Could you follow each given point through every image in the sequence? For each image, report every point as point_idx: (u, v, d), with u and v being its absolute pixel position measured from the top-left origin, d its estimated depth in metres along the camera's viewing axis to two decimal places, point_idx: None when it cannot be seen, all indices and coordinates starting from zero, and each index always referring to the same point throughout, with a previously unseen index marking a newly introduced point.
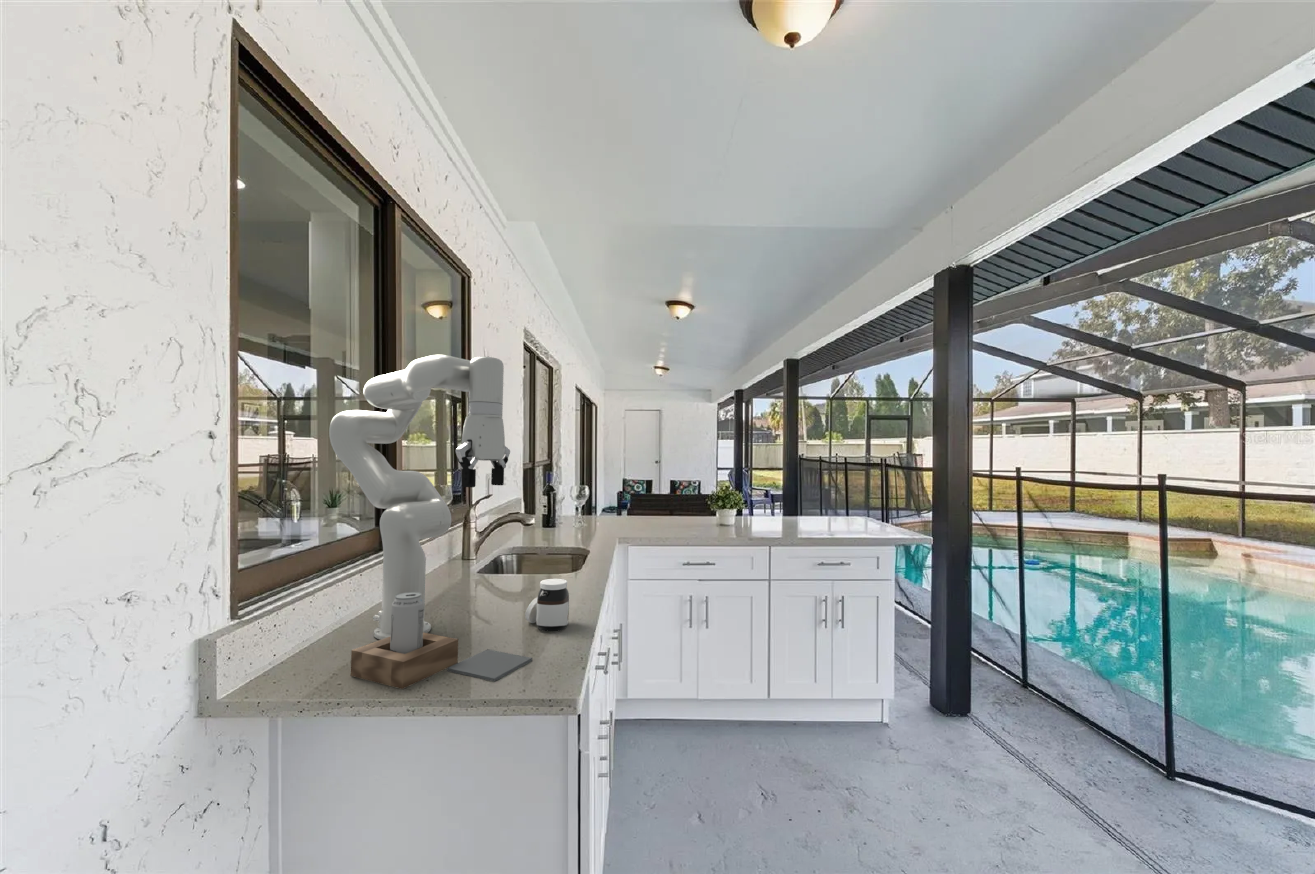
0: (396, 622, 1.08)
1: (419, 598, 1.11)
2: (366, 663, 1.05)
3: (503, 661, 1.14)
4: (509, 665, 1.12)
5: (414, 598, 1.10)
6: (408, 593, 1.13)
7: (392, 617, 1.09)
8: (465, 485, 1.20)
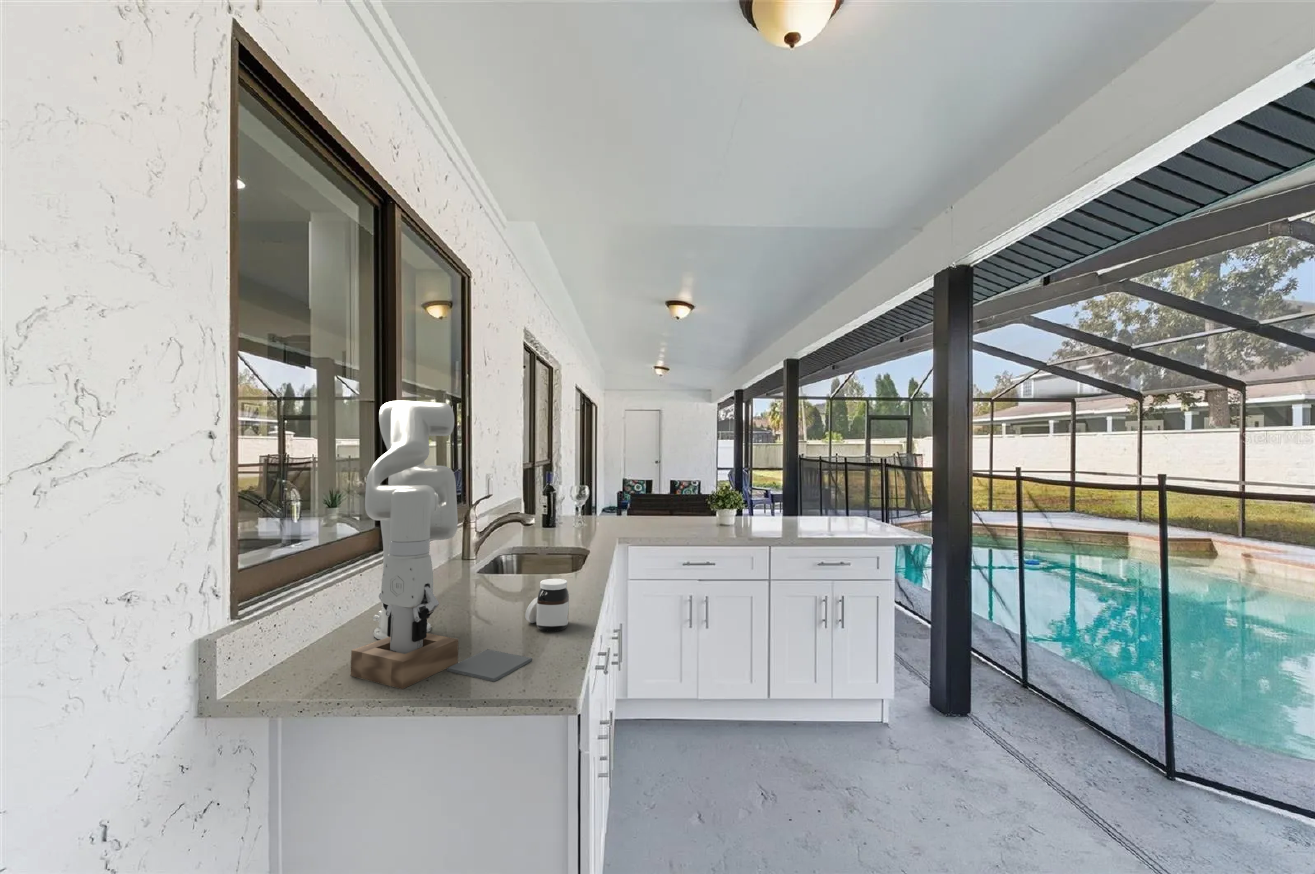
0: (396, 622, 1.08)
1: None
2: (366, 663, 1.05)
3: (503, 661, 1.14)
4: (509, 665, 1.12)
5: None
6: None
7: (392, 617, 1.09)
8: (417, 639, 1.09)
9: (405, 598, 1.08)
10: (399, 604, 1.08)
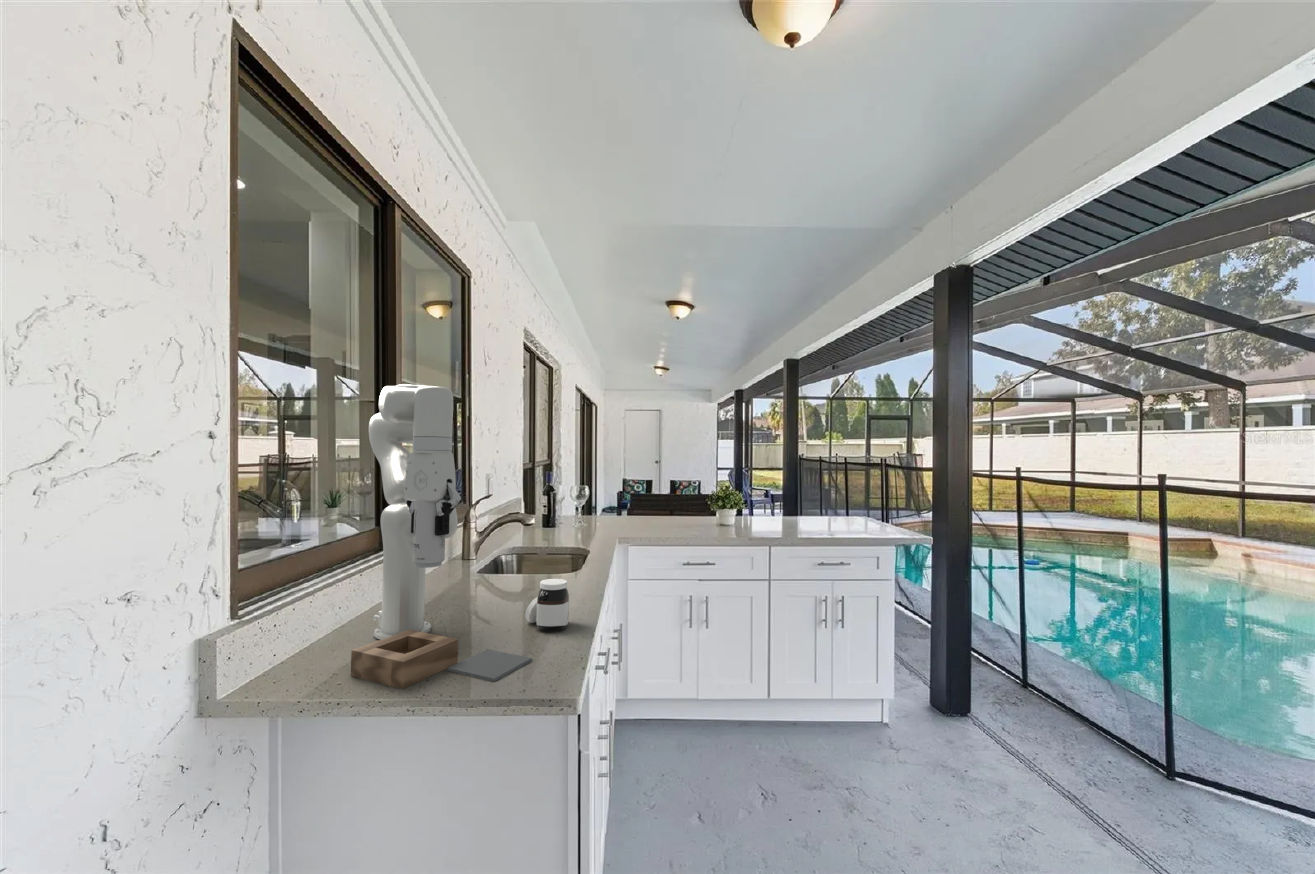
0: (419, 516, 1.09)
1: None
2: (366, 663, 1.05)
3: (503, 661, 1.14)
4: (509, 665, 1.12)
5: None
6: None
7: (415, 512, 1.10)
8: (440, 533, 1.10)
9: (428, 492, 1.09)
10: (422, 498, 1.09)
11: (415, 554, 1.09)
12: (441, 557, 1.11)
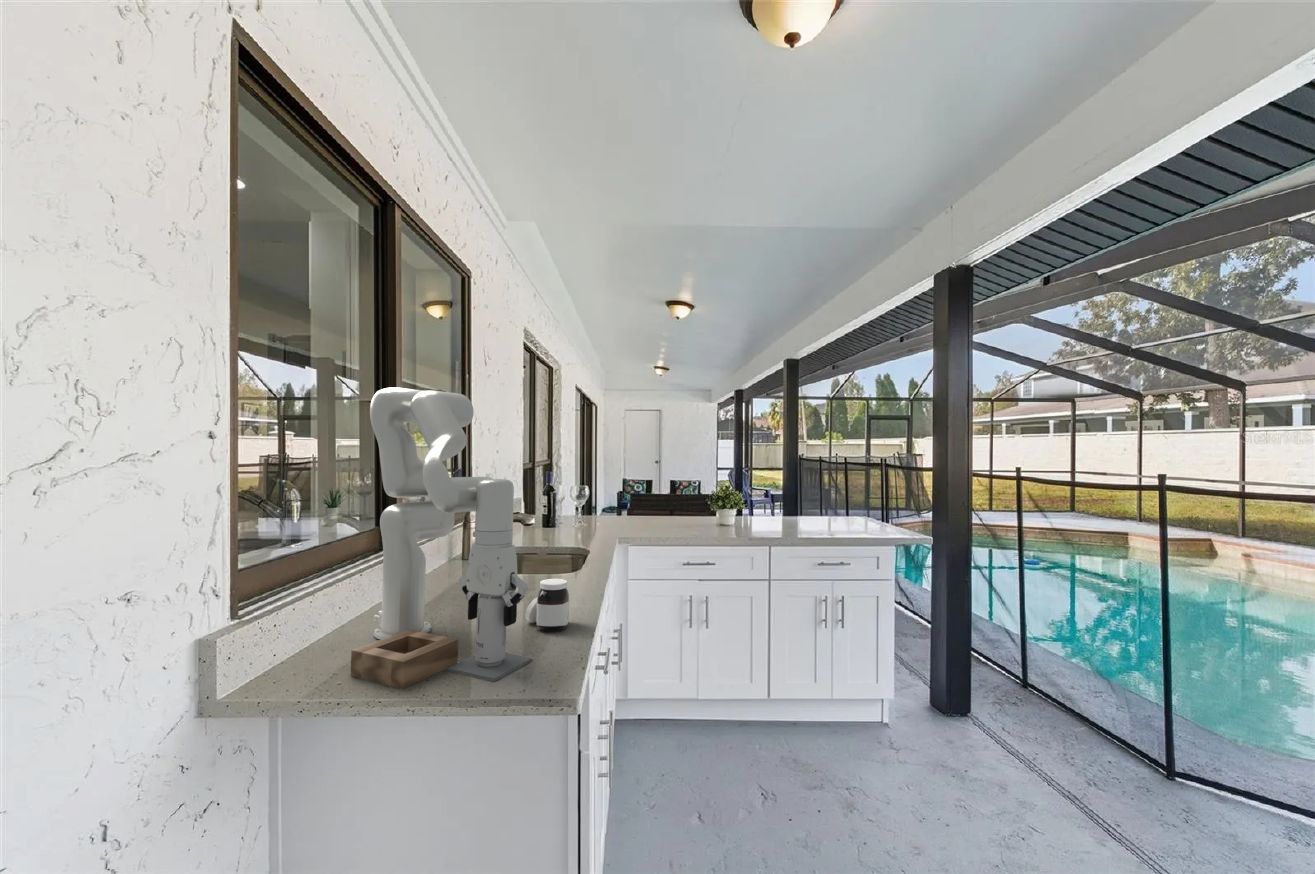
0: (484, 616, 1.11)
1: None
2: (366, 663, 1.05)
3: (503, 661, 1.14)
4: (509, 665, 1.12)
5: None
6: None
7: (479, 611, 1.12)
8: (509, 623, 1.11)
9: (492, 586, 1.10)
10: (486, 592, 1.11)
11: (478, 653, 1.11)
12: (503, 655, 1.13)
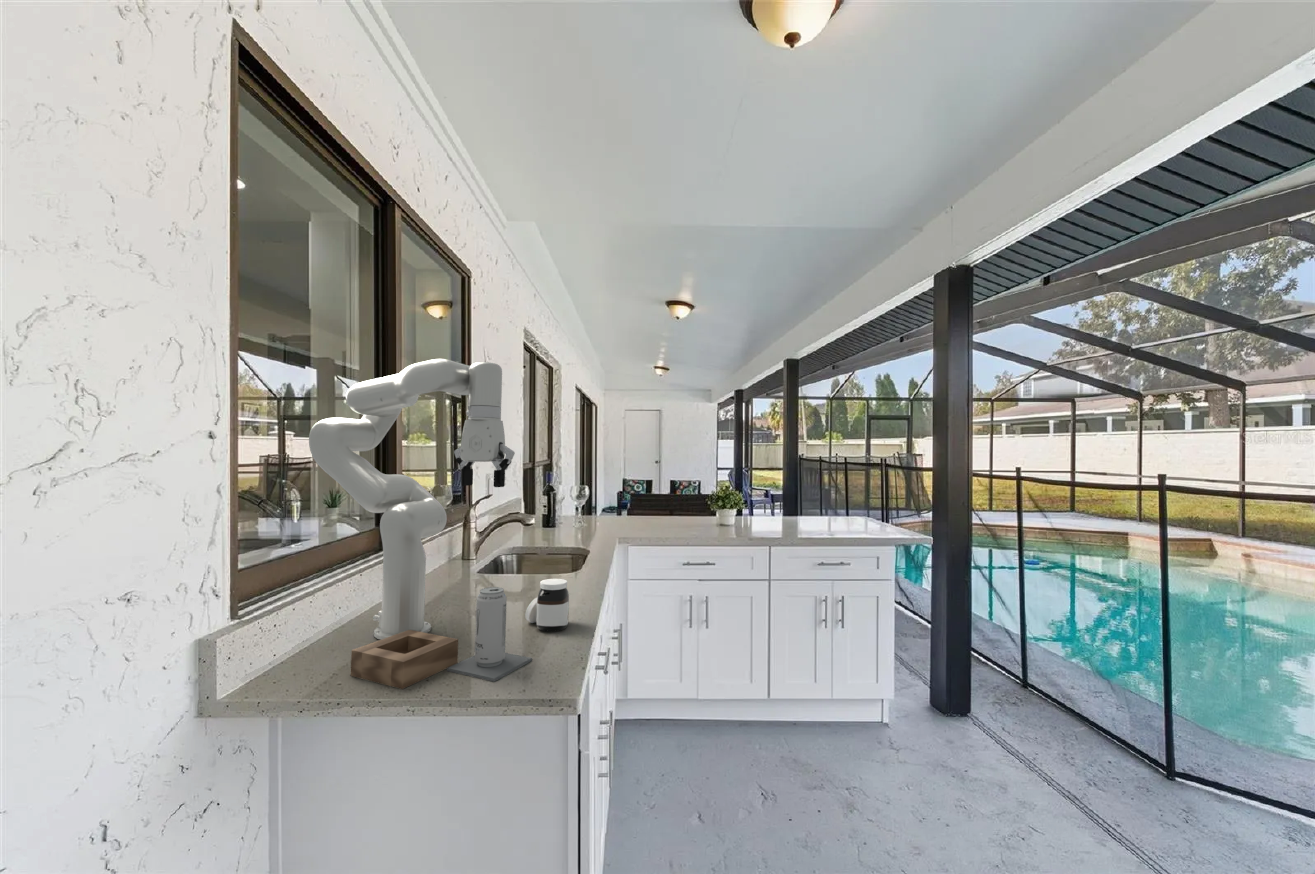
0: (483, 616, 1.11)
1: (503, 593, 1.14)
2: (366, 663, 1.05)
3: (503, 661, 1.14)
4: (509, 665, 1.12)
5: (499, 593, 1.13)
6: (491, 588, 1.15)
7: (478, 611, 1.12)
8: (498, 485, 1.27)
9: (483, 453, 1.27)
10: (477, 458, 1.27)
11: (478, 654, 1.11)
12: (503, 655, 1.13)
